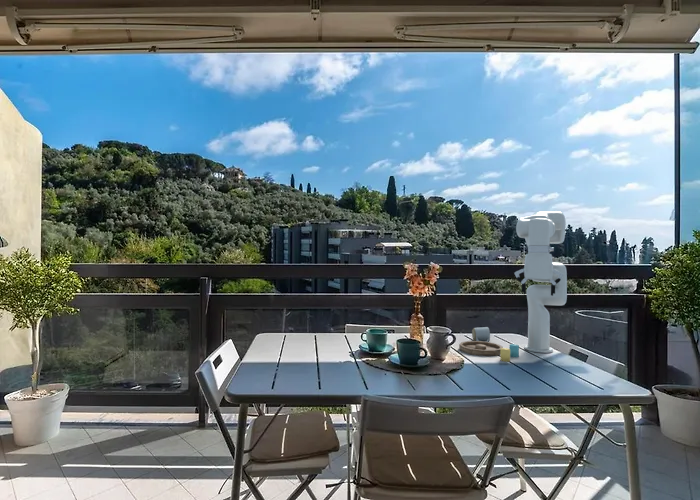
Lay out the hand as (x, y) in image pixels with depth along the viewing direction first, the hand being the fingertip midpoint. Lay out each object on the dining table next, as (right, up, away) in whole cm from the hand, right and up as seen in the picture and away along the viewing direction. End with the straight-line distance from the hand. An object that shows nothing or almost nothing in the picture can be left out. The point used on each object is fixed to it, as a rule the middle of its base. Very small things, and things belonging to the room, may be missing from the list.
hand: (538, 294), depth 159 cm
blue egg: (+2, -31, +29) cm, 42 cm away
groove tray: (-10, -31, +38) cm, 50 cm away
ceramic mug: (-4, -31, +57) cm, 65 cm away
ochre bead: (-5, -31, +21) cm, 38 cm away
